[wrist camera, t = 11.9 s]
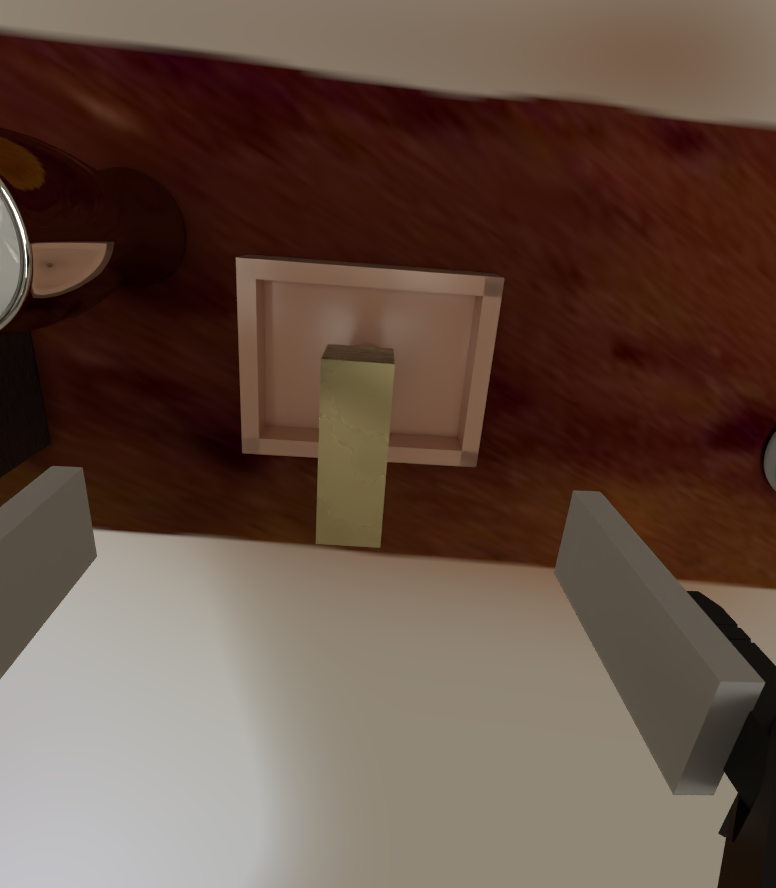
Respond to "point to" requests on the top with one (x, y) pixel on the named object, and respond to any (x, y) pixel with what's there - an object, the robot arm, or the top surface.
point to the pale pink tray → (375, 321)
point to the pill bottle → (771, 461)
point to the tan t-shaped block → (353, 443)
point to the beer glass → (76, 233)
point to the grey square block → (20, 403)
